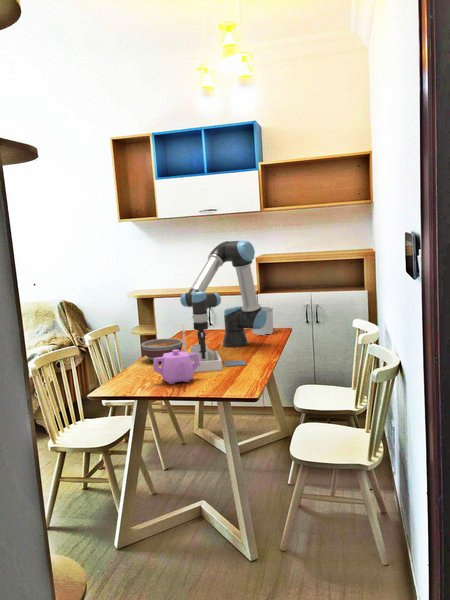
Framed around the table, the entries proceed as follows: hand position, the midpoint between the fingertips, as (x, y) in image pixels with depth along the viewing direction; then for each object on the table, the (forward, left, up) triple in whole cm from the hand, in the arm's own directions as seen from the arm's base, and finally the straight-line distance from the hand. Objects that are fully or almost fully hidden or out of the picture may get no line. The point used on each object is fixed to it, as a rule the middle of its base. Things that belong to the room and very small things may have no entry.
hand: (203, 361), depth 297 cm
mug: (0, 0, -2) cm, 2 cm away
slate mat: (-17, +1, -2) cm, 17 cm away
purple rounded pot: (+14, +26, -2) cm, 30 cm away
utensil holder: (-45, -77, -2) cm, 89 cm away
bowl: (+21, -22, -2) cm, 31 cm away
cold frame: (0, 0, -2) cm, 2 cm away
